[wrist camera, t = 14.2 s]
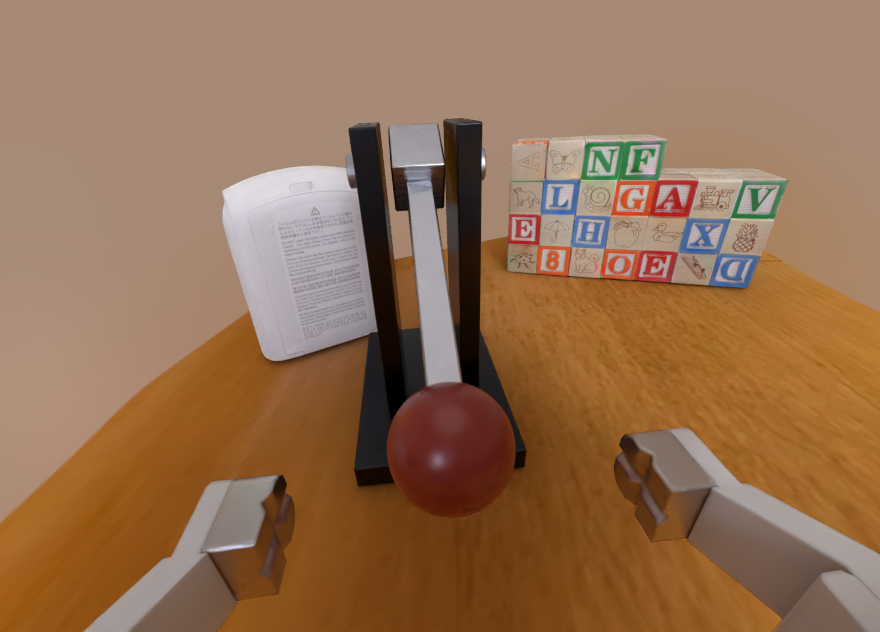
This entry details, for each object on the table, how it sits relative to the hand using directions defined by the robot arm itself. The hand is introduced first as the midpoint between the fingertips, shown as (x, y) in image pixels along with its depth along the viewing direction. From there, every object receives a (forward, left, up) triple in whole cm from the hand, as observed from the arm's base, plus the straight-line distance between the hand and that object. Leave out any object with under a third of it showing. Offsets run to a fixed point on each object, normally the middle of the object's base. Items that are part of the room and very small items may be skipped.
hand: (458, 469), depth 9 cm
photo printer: (-7, +20, -8) cm, 22 cm away
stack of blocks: (+20, +28, -8) cm, 35 cm away
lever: (0, +7, +1) cm, 7 cm away
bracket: (0, +12, -8) cm, 14 cm away
